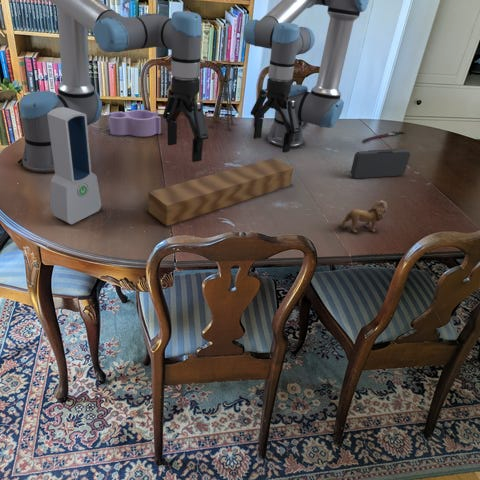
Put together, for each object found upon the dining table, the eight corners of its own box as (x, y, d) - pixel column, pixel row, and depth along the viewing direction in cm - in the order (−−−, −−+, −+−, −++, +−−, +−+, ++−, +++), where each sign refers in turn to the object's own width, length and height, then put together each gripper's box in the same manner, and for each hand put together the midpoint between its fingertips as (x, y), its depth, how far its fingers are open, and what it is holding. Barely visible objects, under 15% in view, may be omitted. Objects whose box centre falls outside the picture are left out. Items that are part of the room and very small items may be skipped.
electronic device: (68, 226, 128) (55, 120, 112) (50, 217, 131) (34, 112, 115) (102, 209, 137) (94, 109, 121) (84, 201, 140) (74, 102, 124)
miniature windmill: (228, 130, 204) (234, 58, 188) (210, 127, 205) (214, 55, 189) (233, 123, 211) (239, 54, 195) (215, 120, 212) (219, 51, 196)
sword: (401, 130, 224) (401, 128, 224) (406, 132, 222) (407, 130, 222) (357, 141, 209) (358, 139, 208) (363, 144, 207) (363, 141, 206)
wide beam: (166, 226, 133) (166, 205, 129) (148, 212, 139) (148, 191, 135) (290, 185, 163) (293, 167, 159) (271, 175, 169) (273, 157, 165)
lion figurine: (375, 222, 146) (382, 196, 141) (385, 230, 142) (393, 204, 137) (334, 226, 141) (341, 200, 136) (343, 236, 137) (350, 209, 132)
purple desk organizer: (111, 137, 184) (110, 120, 181) (108, 126, 194) (107, 110, 190) (162, 136, 191) (162, 119, 187) (156, 125, 200) (156, 109, 197)
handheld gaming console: (400, 172, 181) (407, 148, 176) (404, 175, 179) (412, 151, 174) (348, 175, 174) (354, 150, 169) (352, 179, 172) (358, 153, 167)
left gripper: (224, 88, 117) (219, 165, 129) (174, 65, 133) (173, 136, 145) (199, 90, 113) (196, 171, 125) (150, 67, 129) (151, 140, 141)
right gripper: (318, 88, 137) (306, 155, 148) (261, 68, 152) (254, 130, 163) (301, 91, 133) (290, 160, 144) (244, 70, 148) (238, 134, 159)
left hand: (184, 152), depth 135 cm, fingers open, 13 cm apart
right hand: (271, 144), depth 154 cm, fingers open, 13 cm apart
